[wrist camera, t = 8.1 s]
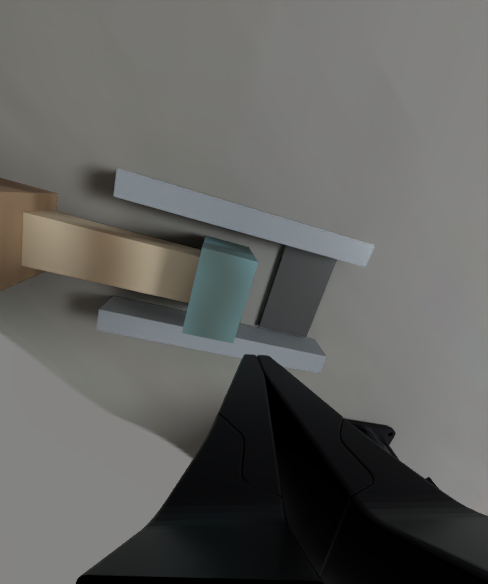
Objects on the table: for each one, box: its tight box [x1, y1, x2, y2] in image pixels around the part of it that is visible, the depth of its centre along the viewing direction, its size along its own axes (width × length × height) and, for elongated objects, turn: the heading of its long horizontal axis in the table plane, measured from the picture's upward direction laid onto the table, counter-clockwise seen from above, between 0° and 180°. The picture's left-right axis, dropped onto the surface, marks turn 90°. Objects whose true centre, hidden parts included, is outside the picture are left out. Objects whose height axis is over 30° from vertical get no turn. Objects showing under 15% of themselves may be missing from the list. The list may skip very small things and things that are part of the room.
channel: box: [96, 168, 375, 373], centre depth 18 cm, size 16×10×2 cm, turn 74°
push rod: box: [21, 210, 258, 343], centre depth 16 cm, size 12×5×4 cm, turn 74°
